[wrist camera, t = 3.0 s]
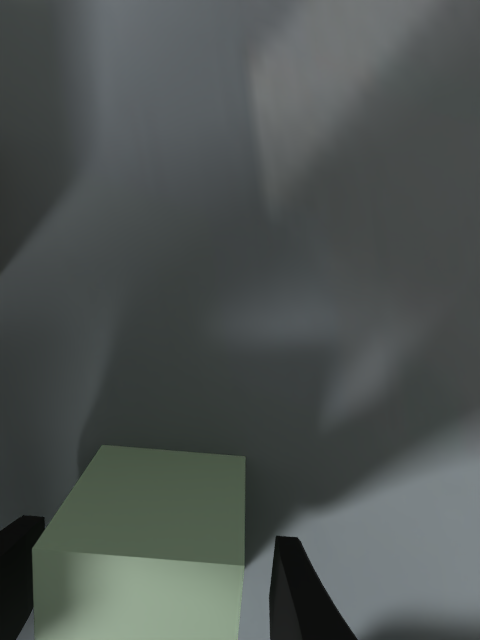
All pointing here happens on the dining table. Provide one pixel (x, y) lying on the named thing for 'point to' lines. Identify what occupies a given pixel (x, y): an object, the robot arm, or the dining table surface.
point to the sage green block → (144, 549)
